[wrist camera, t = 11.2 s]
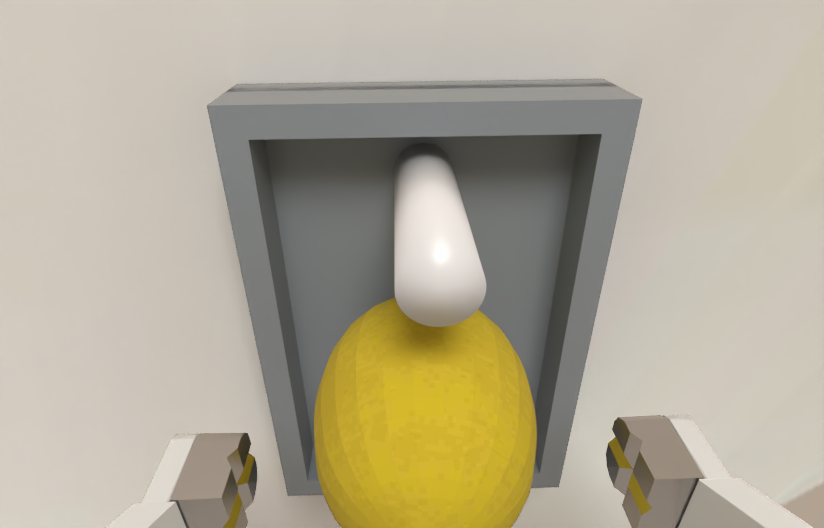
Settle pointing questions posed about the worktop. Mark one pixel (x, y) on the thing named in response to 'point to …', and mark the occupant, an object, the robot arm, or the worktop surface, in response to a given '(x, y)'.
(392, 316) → the lemon
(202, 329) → the worktop surface
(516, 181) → the tray
